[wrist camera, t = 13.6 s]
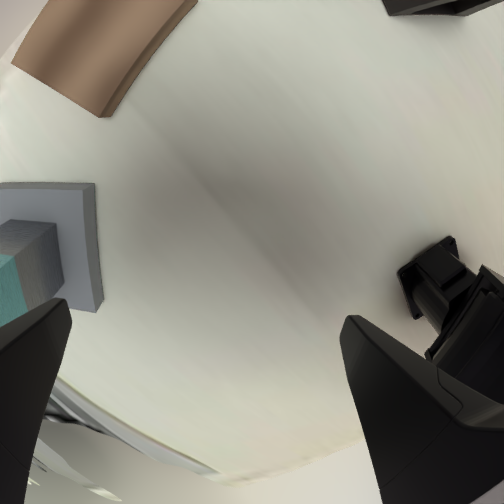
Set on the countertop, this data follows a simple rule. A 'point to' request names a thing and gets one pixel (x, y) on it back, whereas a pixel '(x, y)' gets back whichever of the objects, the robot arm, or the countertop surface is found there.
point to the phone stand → (437, 7)
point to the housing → (28, 266)
